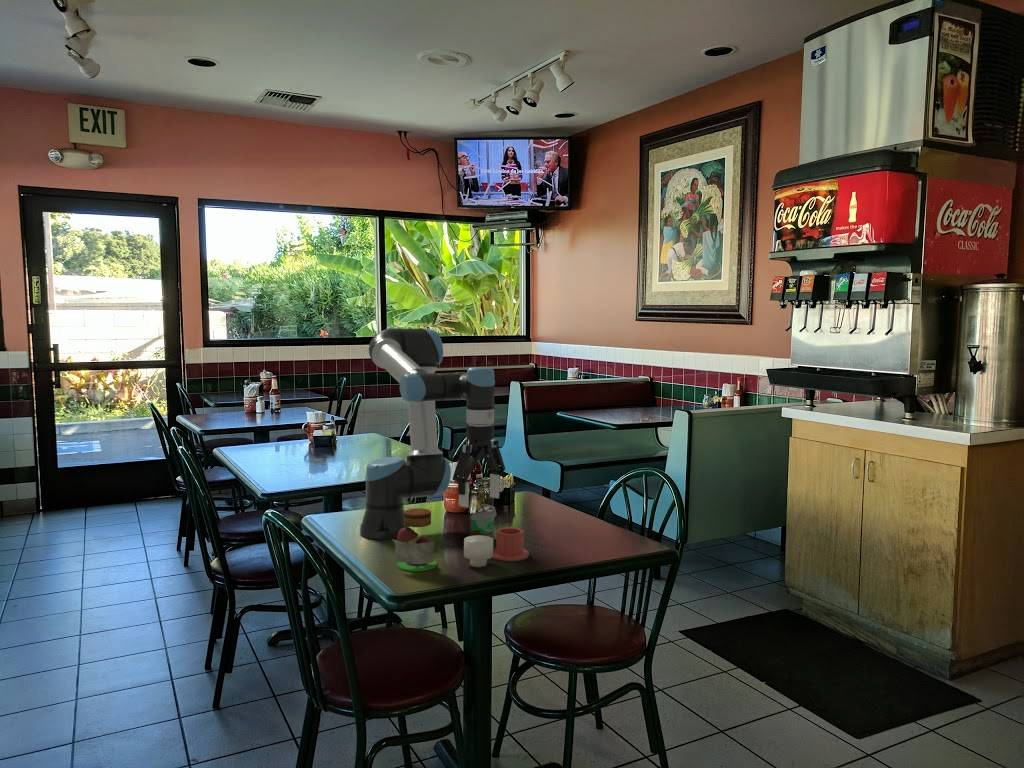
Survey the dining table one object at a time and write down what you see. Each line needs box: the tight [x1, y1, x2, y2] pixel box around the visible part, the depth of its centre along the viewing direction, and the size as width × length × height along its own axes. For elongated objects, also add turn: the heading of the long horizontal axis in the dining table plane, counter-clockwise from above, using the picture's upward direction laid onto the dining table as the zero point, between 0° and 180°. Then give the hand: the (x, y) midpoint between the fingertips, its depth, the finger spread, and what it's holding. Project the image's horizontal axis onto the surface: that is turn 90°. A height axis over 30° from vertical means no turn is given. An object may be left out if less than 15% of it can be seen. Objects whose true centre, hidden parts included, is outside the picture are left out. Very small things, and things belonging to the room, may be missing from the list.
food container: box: [470, 503, 497, 539], centre depth 228 cm, size 12×6×10 cm, turn 168°
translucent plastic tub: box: [391, 507, 438, 572], centre depth 203 cm, size 12×13×15 cm
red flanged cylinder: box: [491, 527, 530, 562], centre depth 214 cm, size 11×11×7 cm
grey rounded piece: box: [463, 535, 494, 568], centre depth 205 cm, size 8×8×7 cm
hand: (479, 502), depth 204 cm, fingers open, 13 cm apart
